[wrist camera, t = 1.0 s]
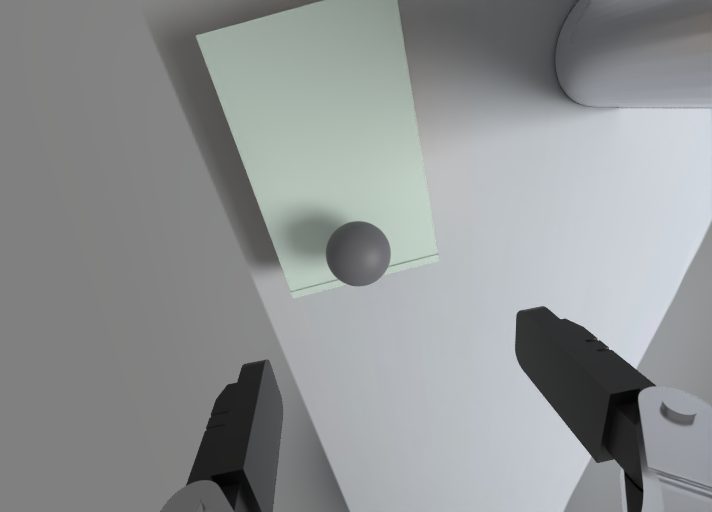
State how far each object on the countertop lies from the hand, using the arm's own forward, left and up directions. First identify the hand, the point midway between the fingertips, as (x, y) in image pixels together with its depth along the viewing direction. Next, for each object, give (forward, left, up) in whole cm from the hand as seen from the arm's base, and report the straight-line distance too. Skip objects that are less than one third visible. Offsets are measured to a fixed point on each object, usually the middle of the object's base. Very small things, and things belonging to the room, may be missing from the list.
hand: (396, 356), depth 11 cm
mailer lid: (+3, -3, -19) cm, 20 cm away
